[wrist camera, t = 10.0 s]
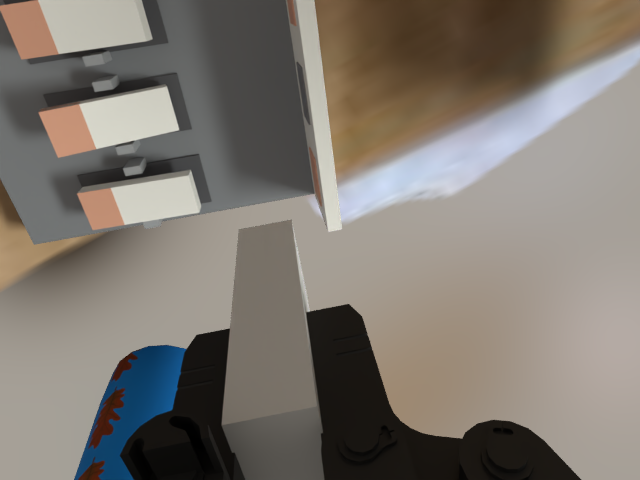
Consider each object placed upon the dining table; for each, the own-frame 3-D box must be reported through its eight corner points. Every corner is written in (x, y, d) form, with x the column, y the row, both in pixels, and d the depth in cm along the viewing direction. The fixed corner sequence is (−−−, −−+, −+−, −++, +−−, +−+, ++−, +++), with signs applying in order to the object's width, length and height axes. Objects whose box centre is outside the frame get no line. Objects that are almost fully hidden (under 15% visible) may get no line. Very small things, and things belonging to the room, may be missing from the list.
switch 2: (165, 84, 32) (167, 86, 31) (177, 126, 33) (179, 130, 32) (40, 108, 30) (38, 112, 29) (59, 153, 31) (58, 157, 30)
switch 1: (137, -15, 28) (130, -15, 26) (152, 39, 29) (146, 41, 28) (10, 4, 28) (-2, 5, 27) (31, 56, 29) (21, 59, 28)
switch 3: (190, 169, 34) (188, 175, 33) (201, 206, 35) (199, 212, 34) (82, 186, 34) (76, 193, 32) (98, 222, 35) (92, 230, 34)
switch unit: (287, -59, 32) (304, -78, 23) (320, 178, 41) (342, 229, 32) (-67, -8, 30) (-190, -8, 22) (47, 227, 39) (-8, 294, 31)
